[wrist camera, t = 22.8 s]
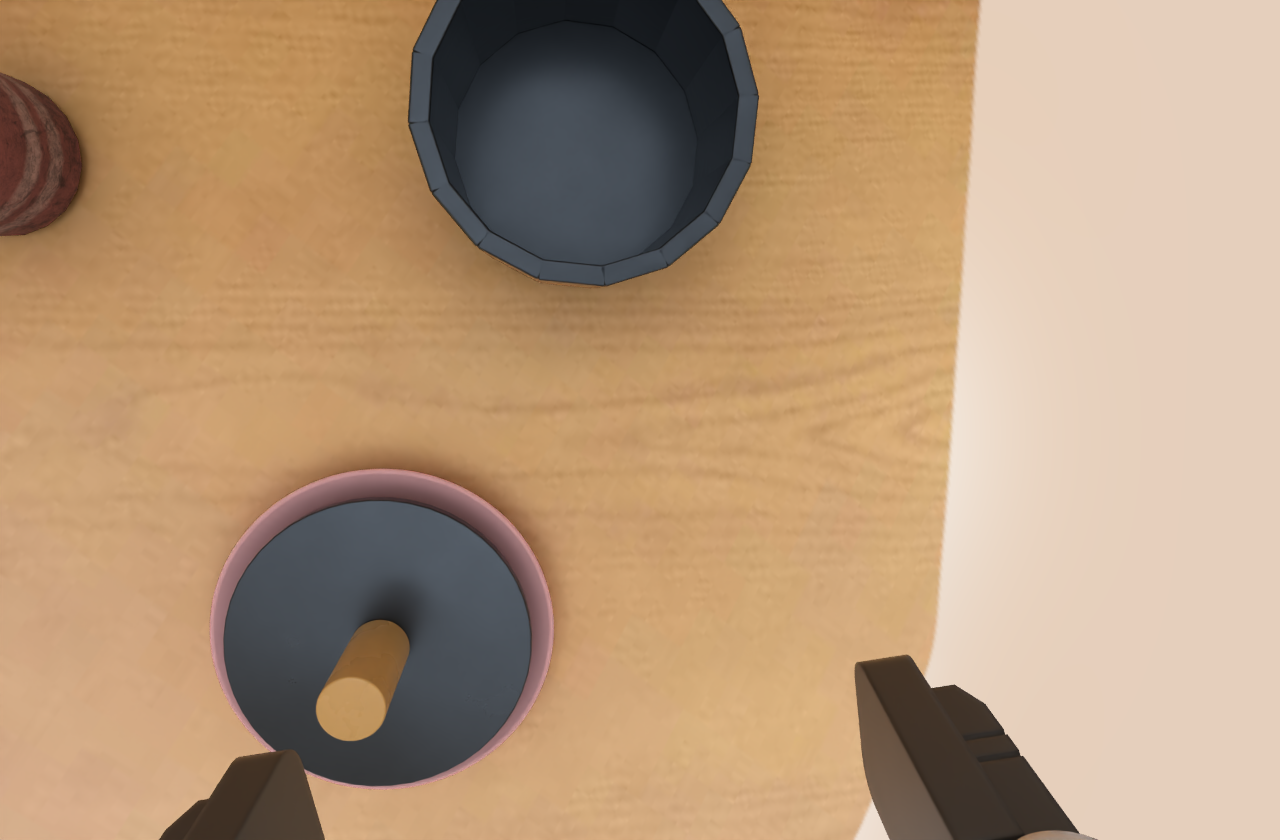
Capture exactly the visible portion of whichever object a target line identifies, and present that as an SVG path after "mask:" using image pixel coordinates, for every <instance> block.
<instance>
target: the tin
mask: <svg viewBox="0 0 1280 840" xmlns="http://www.w3.org/2000/svg"><path fill="white" fill-rule="evenodd" d="M758 100H759V95H758V90H757V86H756V82H755V79H754V75H753V71H752V67H751V63H750V60H749V56H748V52H747V48H746V45H745V41H744V37H743V33H742V30H741V28H740V25H739V23H738V22H737V21H736V19H735V18H734V16H733V15H732V14H731V12H730V11H729V10H728V8H727V7H726V6H725V4H724V3H723V1H722V0H437V1H436V3H435V5H434V7H433V9H432V11H431V13H430V15H429V17H428V19H427V21H426V23H425V25H424V27H423V29H422V31H421V33H420V35H419V37H418V39H417V41H416V43H415V45H414V47H413V52H412V60H411V77H410V94H409V110H408V123H409V125H408V126H409V129H410V132H411V135H412V138H413V141H414V144H415V147H416V150H417V153H418V156H419V159H420V162H421V165H422V168H423V171H424V174H425V177H426V180H427V183H428V186H429V189H430V191H431V192H432V195H433V196H434V197H435V198H436V200H437V201H438V202H439V203H440V204H441V205H442V207H443V208H444V209H445V210H446V211H447V213H448V214H449V215H450V216H451V217H452V219H453V220H454V221H455V222H456V223H457V224H458V226H459V227H460V228H461V229H462V230H463V232H464V233H465V234H466V235H467V236H468V238H469V239H470V240H471V241H472V242H473V243H474V245H475V246H477V247H478V248H479V249H480V250H482V251H483V252H485V253H486V254H488V255H489V256H491V257H492V258H494V259H496V260H498V261H499V262H501V263H503V264H505V265H507V266H509V267H511V268H513V269H514V270H516V271H518V272H520V273H522V274H524V275H526V276H528V277H529V278H531V279H533V280H535V281H537V282H540V283H545V284H556V285H565V286H576V287H586V288H597V287H605V286H609V285H612V284H615V283H619V282H622V281H625V280H628V279H632V278H635V277H638V276H641V275H645V274H648V273H651V272H654V271H658V270H661V269H664V268H667V267H668V266H670V265H672V264H673V263H674V262H675V261H676V260H678V259H679V258H680V257H681V256H682V255H684V254H685V253H686V252H687V251H688V250H690V249H691V248H692V247H693V246H694V245H696V244H697V243H698V242H699V241H700V240H702V239H703V238H704V237H705V236H706V235H707V234H709V233H710V232H711V231H712V230H713V229H715V228H716V227H717V226H718V225H719V224H720V223H721V221H722V219H723V217H724V215H725V213H726V211H727V209H728V208H729V206H730V204H731V202H732V200H733V198H734V196H735V194H736V192H737V191H738V189H739V187H740V185H741V183H742V181H743V179H744V177H745V175H746V173H747V172H748V170H749V168H750V165H751V163H752V155H753V146H754V137H755V128H756V119H757V109H758Z"/></svg>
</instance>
